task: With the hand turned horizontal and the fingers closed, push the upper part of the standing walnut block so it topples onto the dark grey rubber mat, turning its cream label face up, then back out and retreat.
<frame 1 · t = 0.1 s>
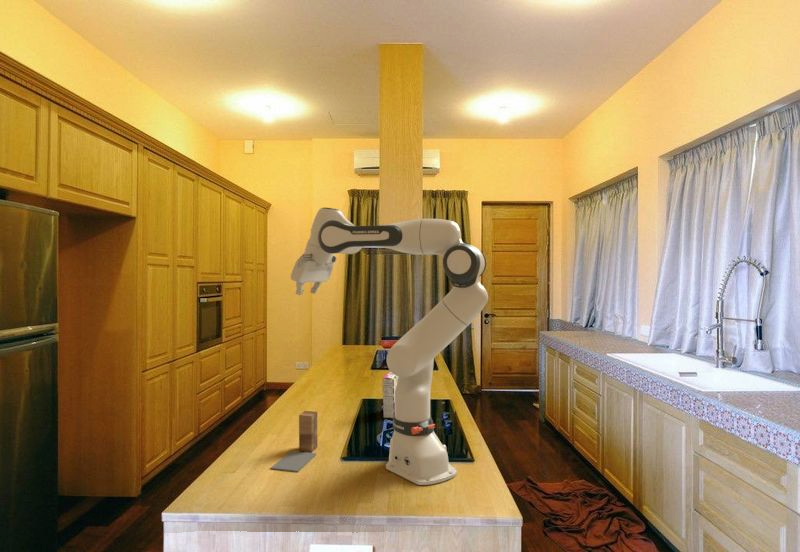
hand: (306, 293, 150), 52 cm above the worktop, tool tilted 20°, fingers open, 8 cm apart
block: (308, 449, 149), on the worktop
mat: (294, 461, 139), on the worktop
candy bar box: (391, 414, 185), on the worktop
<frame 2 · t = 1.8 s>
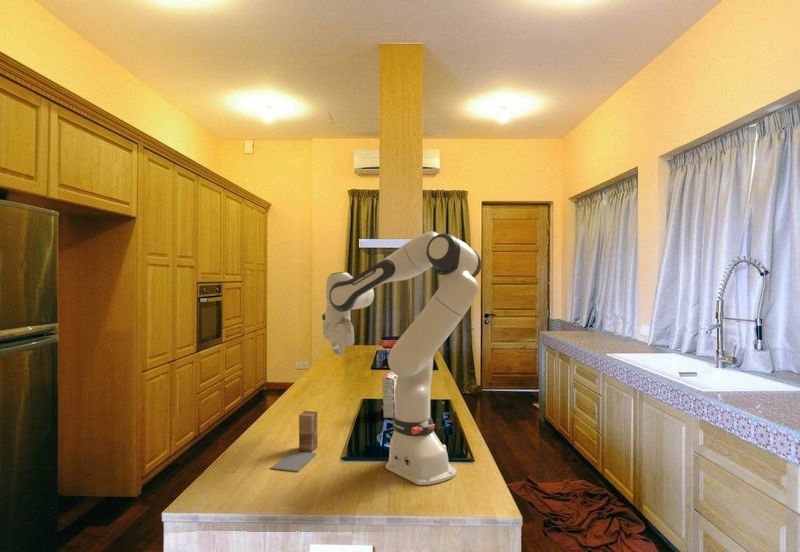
hand: (338, 354, 162), 29 cm above the worktop, tool pointing down, fingers open, 3 cm apart
nothing on the worktop moved.
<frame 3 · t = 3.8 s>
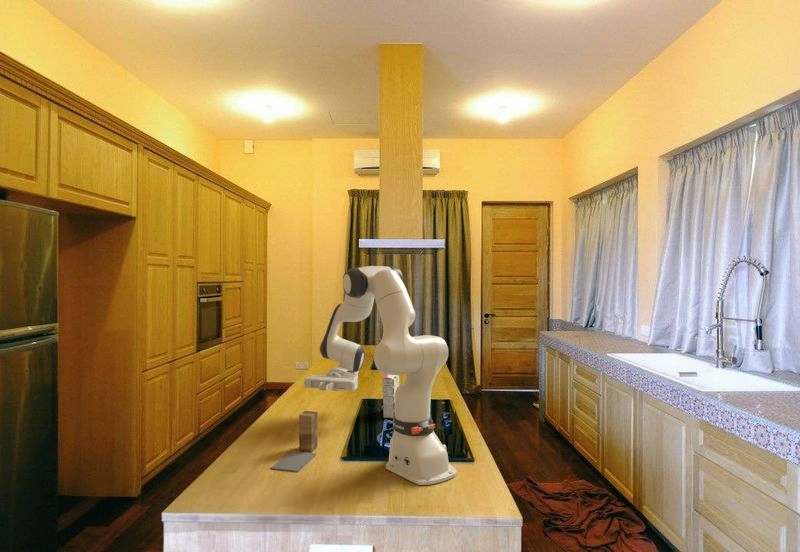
hand: (322, 388, 160), 17 cm above the worktop, tool horizontal, fingers closed
nothing on the worktop moved.
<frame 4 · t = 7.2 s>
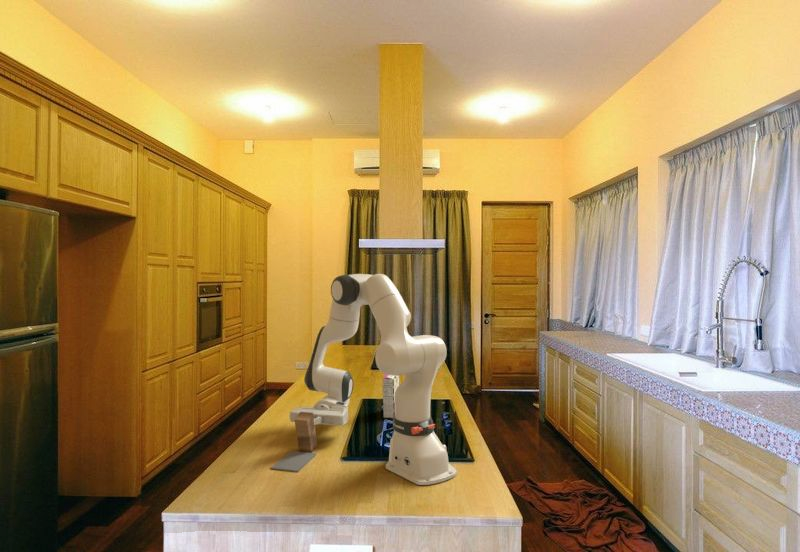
hand: (309, 423, 149), 8 cm above the worktop, tool horizontal, fingers closed
block: (308, 447, 149), point 1 cm above the worktop, tilted 16°, touching gripper
everything else where it was.
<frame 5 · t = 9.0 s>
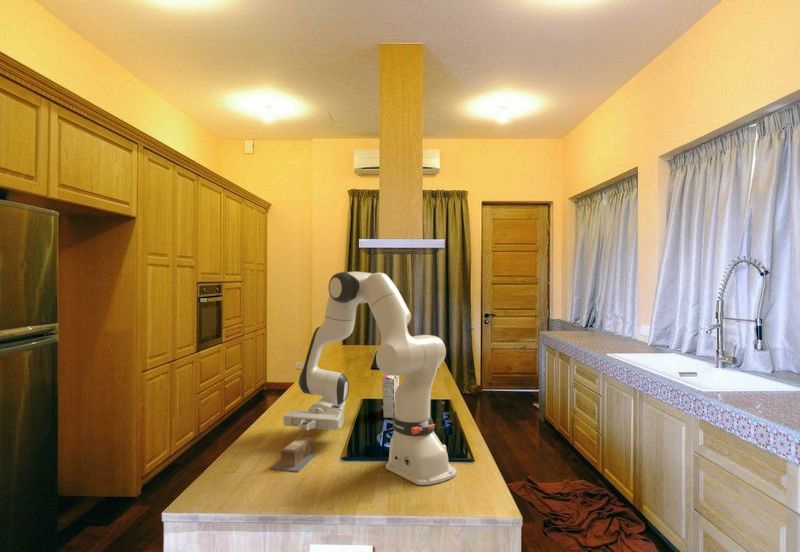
hand: (303, 427, 145), 9 cm above the worktop, tool horizontal, fingers closed
block: (305, 443, 147), point 3 cm above the worktop, tilted 90°, touching mat
everything else where it was.
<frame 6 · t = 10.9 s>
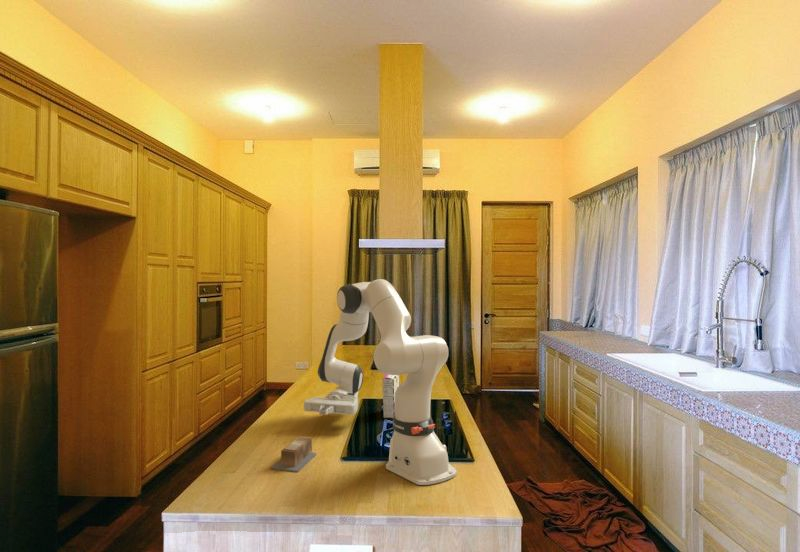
hand: (322, 412, 160), 9 cm above the worktop, tool horizontal, fingers closed
nothing on the worktop moved.
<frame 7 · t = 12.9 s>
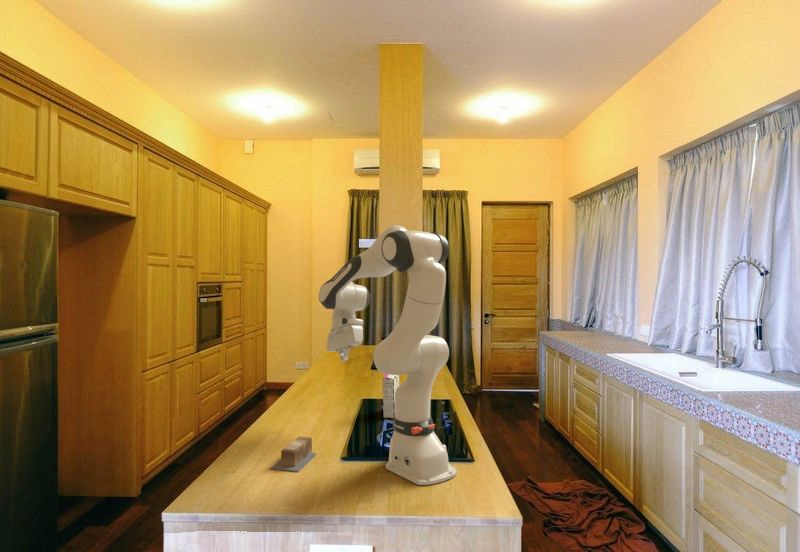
hand: (343, 360, 164), 27 cm above the worktop, tool tilted 20°, fingers closed
nothing on the worktop moved.
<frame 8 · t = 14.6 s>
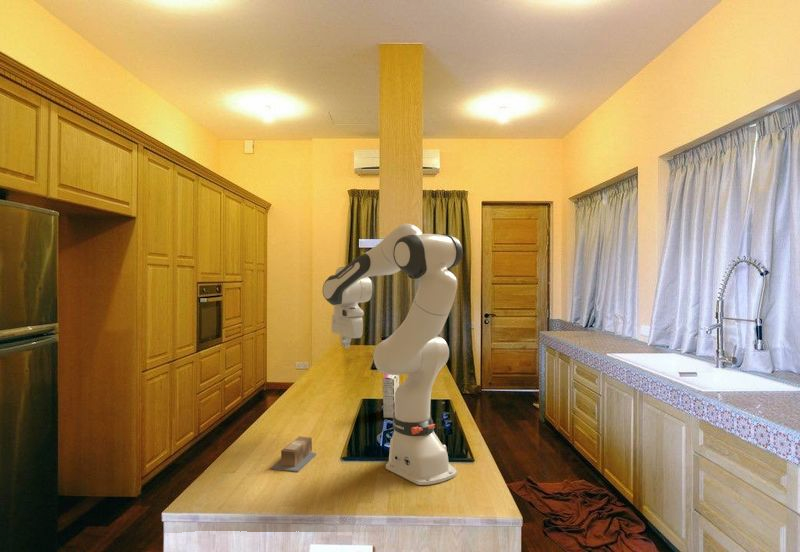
hand: (346, 347, 165), 31 cm above the worktop, tool pointing down, fingers closed
nothing on the worktop moved.
at the end: block tilted 90°; block inside the target area (4.9 cm from its centre), point 2.6 cm above the worktop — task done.
